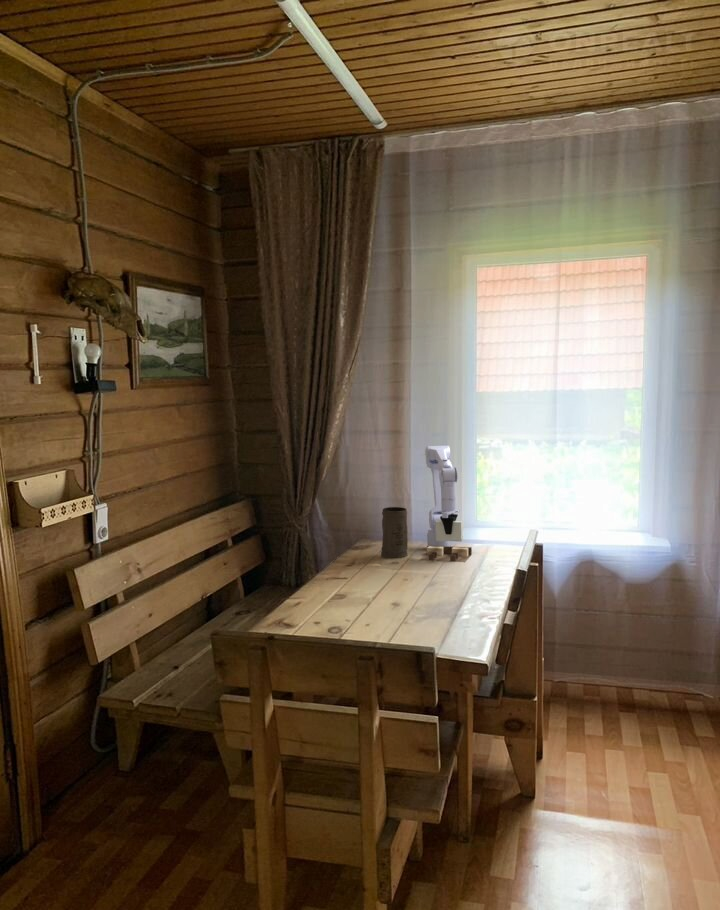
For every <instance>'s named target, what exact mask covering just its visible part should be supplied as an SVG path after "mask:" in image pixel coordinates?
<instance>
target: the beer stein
mask: <svg viewBox="0 0 720 910" xmlns="http://www.w3.org/2000/svg"><path fill="white" fill-rule="evenodd" d="M381 514H382V519H381V527H382V543H381V548H380V549H381V553H380V557H381V558H383V559H389V560H390V559H391V560H392V559H393V560H394V559H395V560H396V559H403V558H408V541H409V539H408V524H407V523H408V522H407V519H408V518H407V517H408V510H407V508H405V507H400V506H391V507H389V506H388V507H384V508H382V513H381Z"/></svg>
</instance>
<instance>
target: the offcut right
mask: <svg viewBox="0 0 720 910" xmlns="http://www.w3.org/2000/svg"><path fill="white" fill-rule="evenodd" d="M460 547H461V546H453V548H452V555H453V553H458V557H467V556H468V555H469V553H468V548H460Z"/></svg>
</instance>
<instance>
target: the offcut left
mask: <svg viewBox="0 0 720 910" xmlns="http://www.w3.org/2000/svg"><path fill="white" fill-rule="evenodd" d="M431 552H437V556H442V555H443V554H444V547H433V546H429V547H427V546H426V554H427V555H429V554H431Z"/></svg>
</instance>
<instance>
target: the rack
mask: <svg viewBox="0 0 720 910" xmlns="http://www.w3.org/2000/svg"><path fill="white" fill-rule="evenodd" d="M427 547H429V546H427V545H426V548H427ZM433 547H444V554H443V555H442V556H437V552H431V554H429V555H427V553H425V554H424V555H423V556H422V557H421V558H419V561H425V562H427V561H428V562H448V563H449V562H450V563H451V562H452V563H454V562H455V563H466V562H467V561H468V560H469V559H470V558H471V556H472V553H473V552H472V551H473V550H472V546H459V547H460V548H468V553H469V555H468V556H467V557H458V553H453V555H452V548H453V547H454V546H452V545H451V546H433Z"/></svg>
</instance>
